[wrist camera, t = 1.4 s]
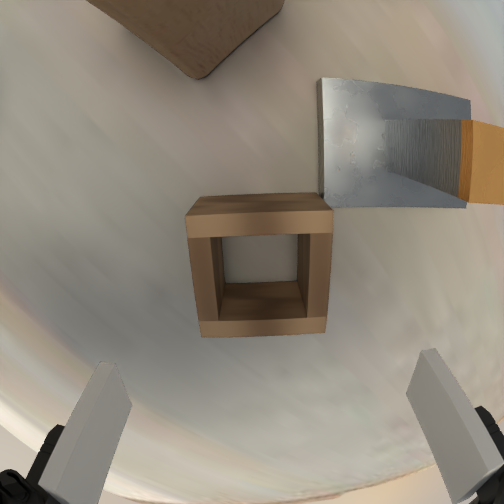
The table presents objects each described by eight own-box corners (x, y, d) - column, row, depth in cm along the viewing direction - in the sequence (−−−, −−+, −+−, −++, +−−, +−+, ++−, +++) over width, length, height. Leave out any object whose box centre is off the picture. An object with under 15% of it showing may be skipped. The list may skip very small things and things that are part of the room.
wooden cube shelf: (210, 298, 29) (201, 337, 23) (200, 196, 25) (185, 215, 20) (312, 294, 29) (325, 332, 23) (315, 192, 25) (333, 210, 19)
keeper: (318, 201, 25) (374, 265, 13) (316, 81, 22) (376, 37, 10) (454, 203, 25) (548, 253, 13) (458, 100, 21) (561, 102, 9)
